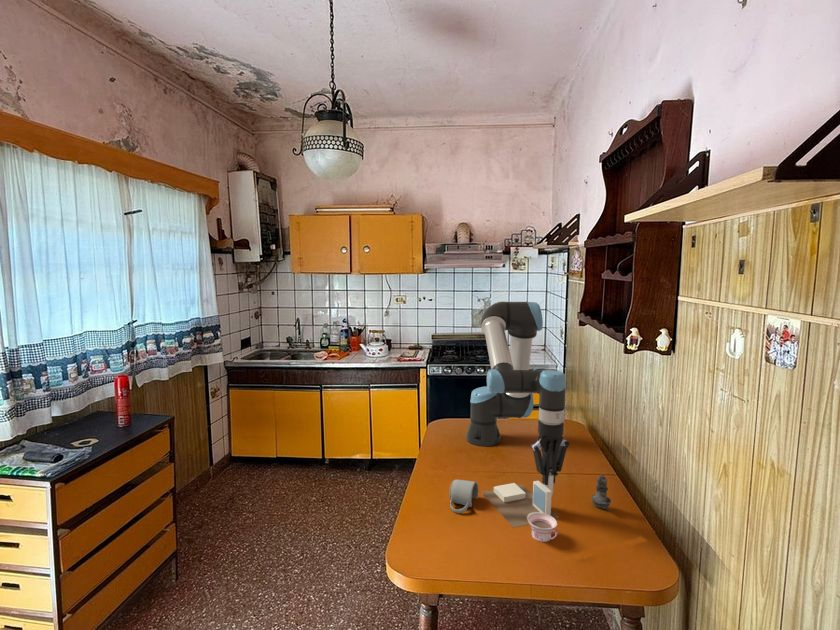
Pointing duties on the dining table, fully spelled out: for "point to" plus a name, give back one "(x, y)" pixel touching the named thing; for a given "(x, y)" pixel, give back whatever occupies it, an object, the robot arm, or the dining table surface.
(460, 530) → the dining table surface
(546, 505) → the tile
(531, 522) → the teacup
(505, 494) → the tile
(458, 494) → the ceramic mug
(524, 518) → the walnut board
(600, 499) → the grey stone finial
